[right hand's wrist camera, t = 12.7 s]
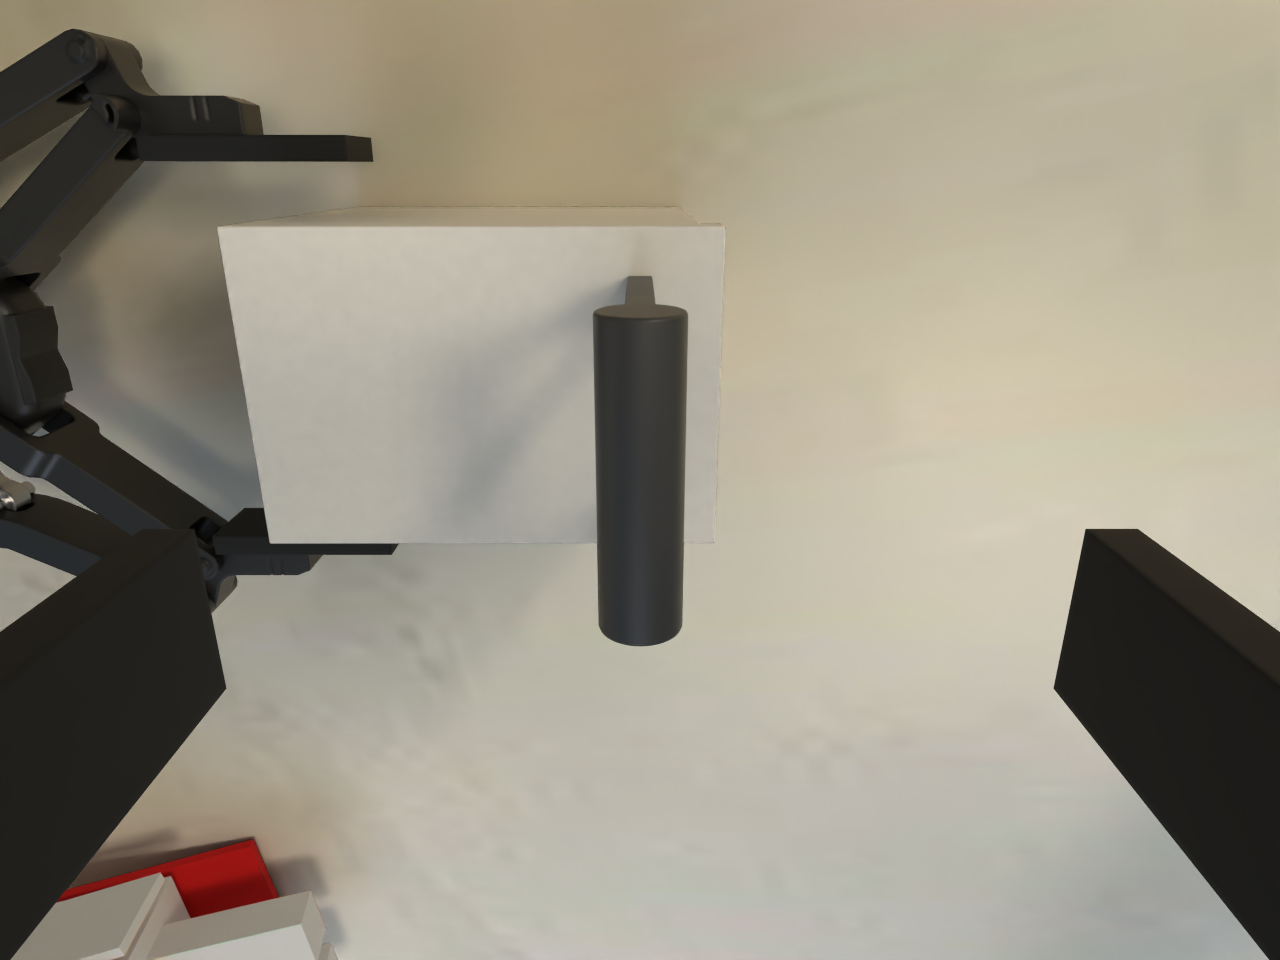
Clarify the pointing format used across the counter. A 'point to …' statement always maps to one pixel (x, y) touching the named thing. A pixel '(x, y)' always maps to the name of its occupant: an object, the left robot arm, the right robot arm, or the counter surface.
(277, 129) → the counter surface
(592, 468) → the lid
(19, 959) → the toy
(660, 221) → the chest
